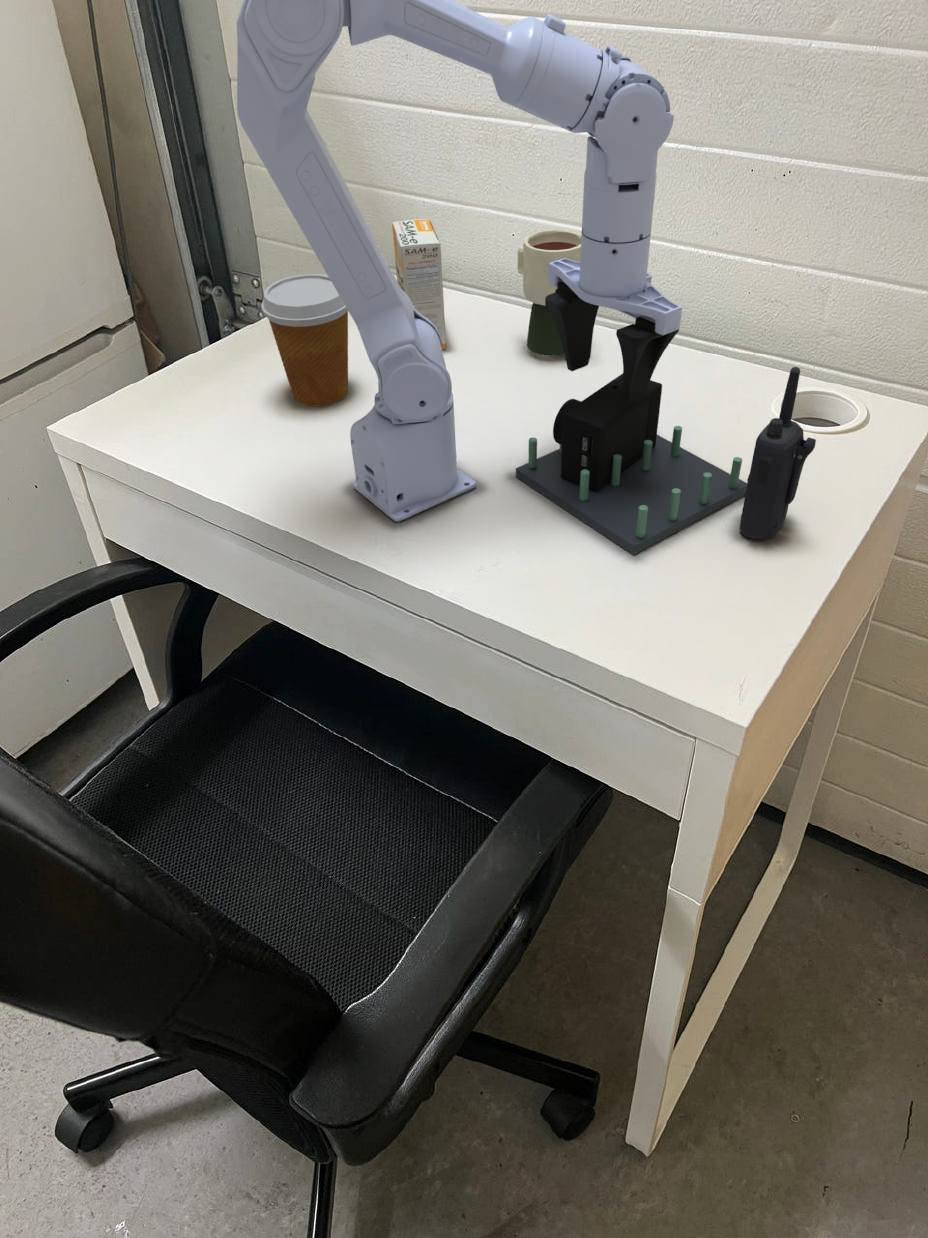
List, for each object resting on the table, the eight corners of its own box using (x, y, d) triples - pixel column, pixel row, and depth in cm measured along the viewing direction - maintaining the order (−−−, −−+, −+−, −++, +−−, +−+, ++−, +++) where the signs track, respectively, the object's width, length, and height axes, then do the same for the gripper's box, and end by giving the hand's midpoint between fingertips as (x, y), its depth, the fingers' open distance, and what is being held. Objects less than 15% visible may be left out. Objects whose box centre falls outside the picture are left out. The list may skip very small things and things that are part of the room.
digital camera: (610, 429, 96) (614, 366, 91) (656, 446, 93) (663, 382, 88) (549, 474, 90) (551, 409, 85) (596, 493, 87) (600, 427, 83)
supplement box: (399, 326, 119) (390, 220, 110) (436, 322, 119) (430, 216, 111) (408, 354, 113) (399, 245, 104) (447, 350, 113) (441, 240, 104)
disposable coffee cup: (267, 411, 104) (246, 306, 96) (294, 371, 111) (276, 270, 103) (349, 415, 102) (335, 309, 94) (371, 375, 109) (359, 273, 101)
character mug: (607, 352, 111) (614, 241, 102) (568, 373, 107) (572, 260, 99) (537, 327, 117) (539, 220, 108) (499, 346, 113) (497, 237, 105)
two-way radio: (755, 506, 86) (786, 354, 76) (802, 521, 84) (841, 367, 74) (731, 536, 83) (760, 382, 73) (780, 552, 81) (817, 396, 71)
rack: (633, 555, 82) (637, 518, 79) (515, 476, 92) (515, 441, 89) (748, 493, 88) (755, 456, 85) (626, 426, 98) (629, 391, 95)
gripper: (715, 242, 75) (694, 396, 83) (592, 199, 83) (584, 342, 92) (652, 265, 71) (636, 422, 80) (531, 217, 80) (529, 364, 89)
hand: (605, 381), depth 86 cm, fingers open, 7 cm apart
